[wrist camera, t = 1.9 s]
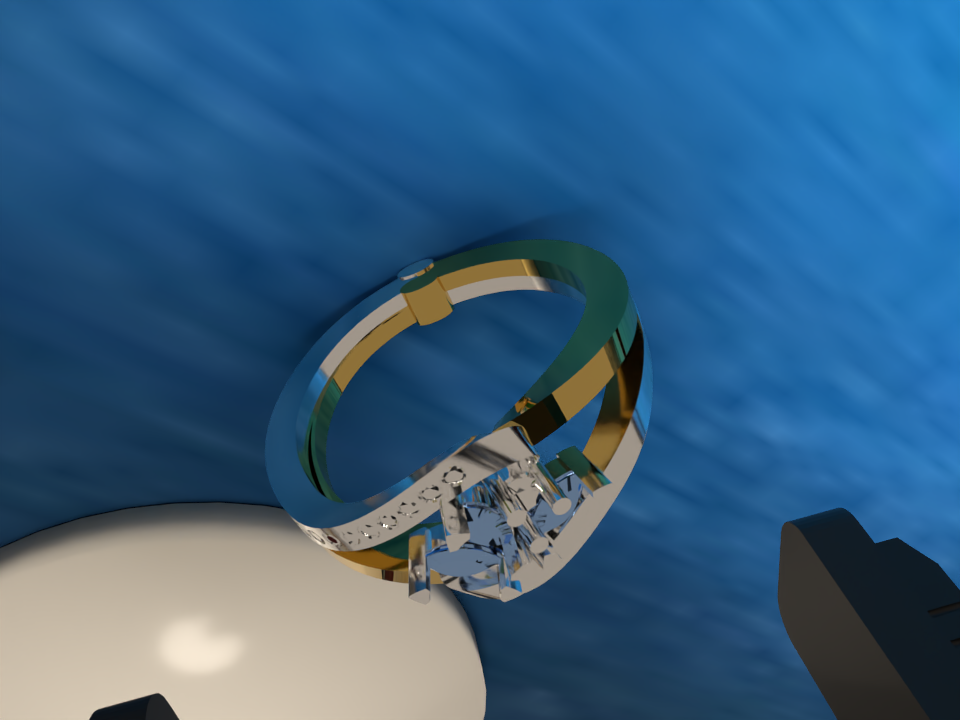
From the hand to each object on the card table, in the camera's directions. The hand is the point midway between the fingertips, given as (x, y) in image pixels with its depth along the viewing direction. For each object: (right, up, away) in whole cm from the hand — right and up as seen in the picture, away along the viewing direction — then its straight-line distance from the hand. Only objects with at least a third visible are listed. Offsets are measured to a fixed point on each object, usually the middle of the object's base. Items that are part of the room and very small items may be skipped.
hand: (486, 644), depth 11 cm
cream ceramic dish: (-8, -6, +14) cm, 17 cm away
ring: (-1, +5, +7) cm, 9 cm away
